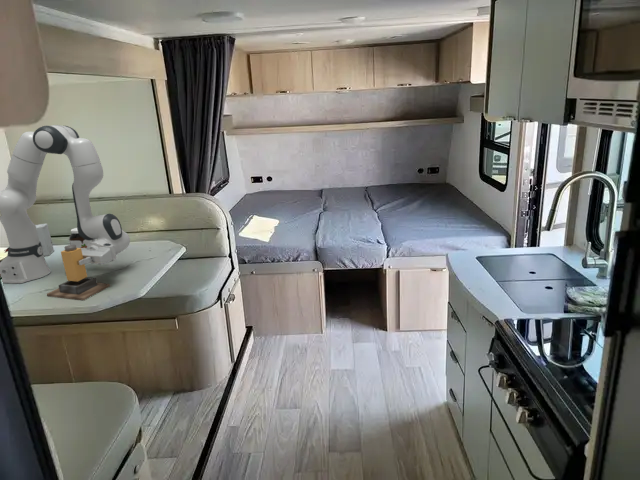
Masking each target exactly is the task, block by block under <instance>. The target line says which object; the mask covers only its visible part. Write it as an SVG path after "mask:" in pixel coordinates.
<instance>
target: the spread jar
mask: <svg viewBox="0 0 640 480" xmlns="http://www.w3.org/2000/svg"><path fill="white" fill-rule="evenodd" d="M70 233H71V234H70V235H69V238H68V242H69V245H76V248H87V246H88V244H89V243H91V242H94V241H96V240H97V239H94V240H85V239H83V238H82V237H81V236H80V234H79V233H78V230H77V227H74V228H71V229H70Z"/></svg>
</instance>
